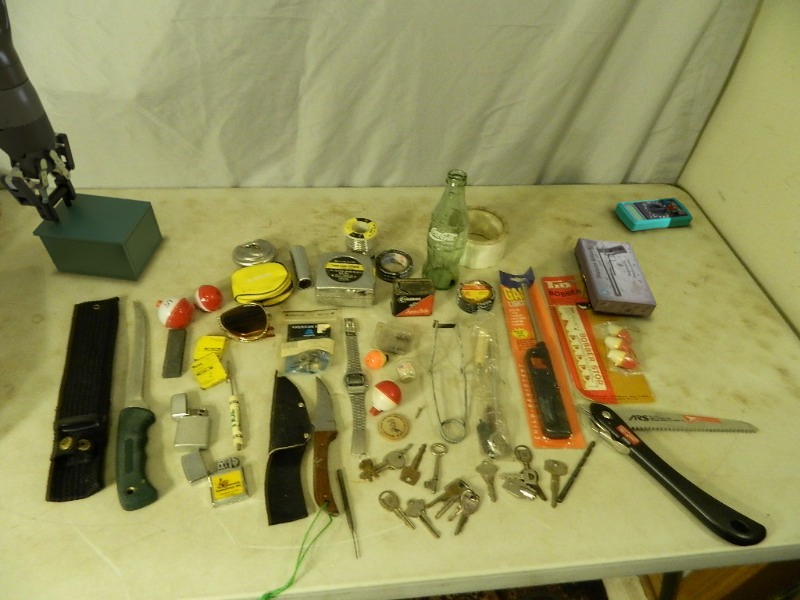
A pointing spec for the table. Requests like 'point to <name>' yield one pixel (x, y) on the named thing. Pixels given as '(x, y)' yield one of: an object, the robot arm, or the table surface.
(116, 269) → the case
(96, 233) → the lid
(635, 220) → the digital multimeter
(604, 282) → the box
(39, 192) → the robot arm
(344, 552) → the table surface
